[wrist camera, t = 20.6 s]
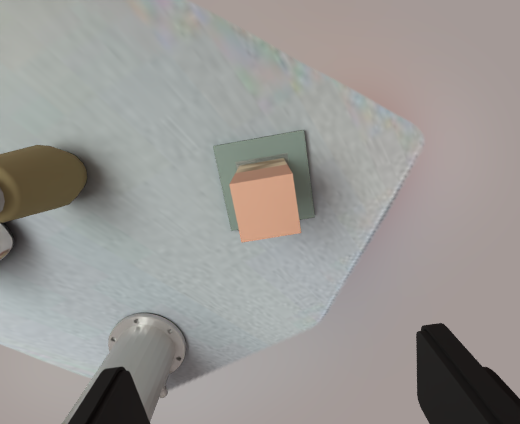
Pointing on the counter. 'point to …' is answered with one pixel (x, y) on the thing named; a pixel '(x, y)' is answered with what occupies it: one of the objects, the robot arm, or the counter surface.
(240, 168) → the maple block
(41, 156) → the squeeze bottle
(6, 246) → the spread jar
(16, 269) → the counter surface
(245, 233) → the terracotta block
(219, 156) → the plate
